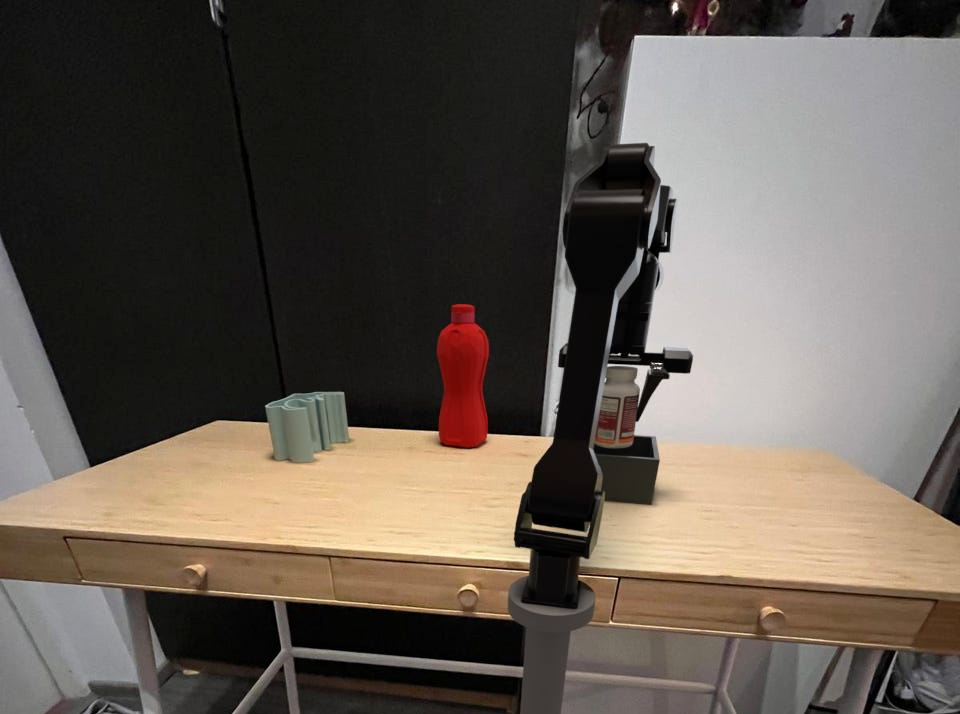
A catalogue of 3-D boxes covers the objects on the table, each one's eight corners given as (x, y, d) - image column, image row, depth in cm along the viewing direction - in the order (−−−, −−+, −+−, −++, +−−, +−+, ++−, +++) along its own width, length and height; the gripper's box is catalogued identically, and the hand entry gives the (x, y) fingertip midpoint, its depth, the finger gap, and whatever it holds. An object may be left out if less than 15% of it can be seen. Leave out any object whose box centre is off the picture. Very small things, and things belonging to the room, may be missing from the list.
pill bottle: (626, 439, 92) (637, 365, 86) (637, 449, 87) (649, 370, 81) (589, 439, 92) (597, 364, 86) (596, 449, 87) (605, 370, 81)
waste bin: (651, 504, 89) (659, 459, 85) (558, 496, 91) (562, 452, 88) (648, 476, 101) (655, 436, 97) (566, 470, 103) (570, 430, 99)
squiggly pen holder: (307, 437, 121) (299, 390, 115) (351, 439, 119) (346, 392, 114) (268, 461, 106) (257, 408, 101) (318, 464, 105) (310, 410, 99)
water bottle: (494, 438, 122) (498, 303, 108) (475, 450, 114) (476, 306, 100) (455, 433, 125) (454, 302, 111) (433, 445, 116) (429, 304, 103)
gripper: (695, 302, 84) (674, 413, 92) (569, 298, 87) (560, 406, 95) (704, 305, 75) (679, 428, 83) (562, 301, 78) (553, 420, 86)
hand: (615, 419), depth 87 cm, fingers closed on pill bottle, 6 cm apart
